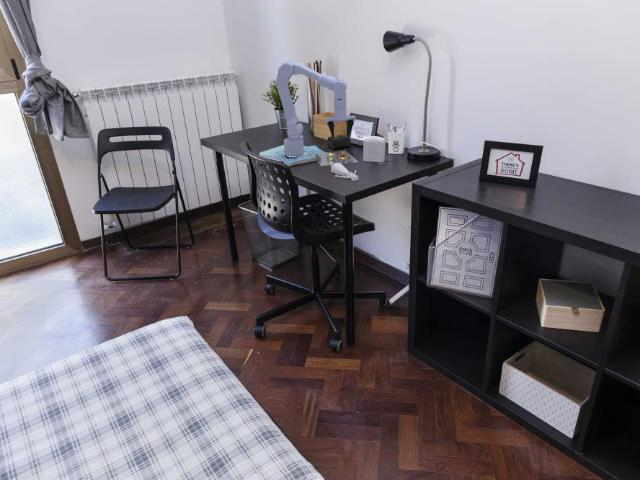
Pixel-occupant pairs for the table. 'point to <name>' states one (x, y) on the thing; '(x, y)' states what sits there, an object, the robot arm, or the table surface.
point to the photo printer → (374, 149)
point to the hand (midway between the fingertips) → (340, 136)
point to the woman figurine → (343, 172)
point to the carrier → (332, 158)
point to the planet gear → (342, 156)
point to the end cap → (339, 142)
